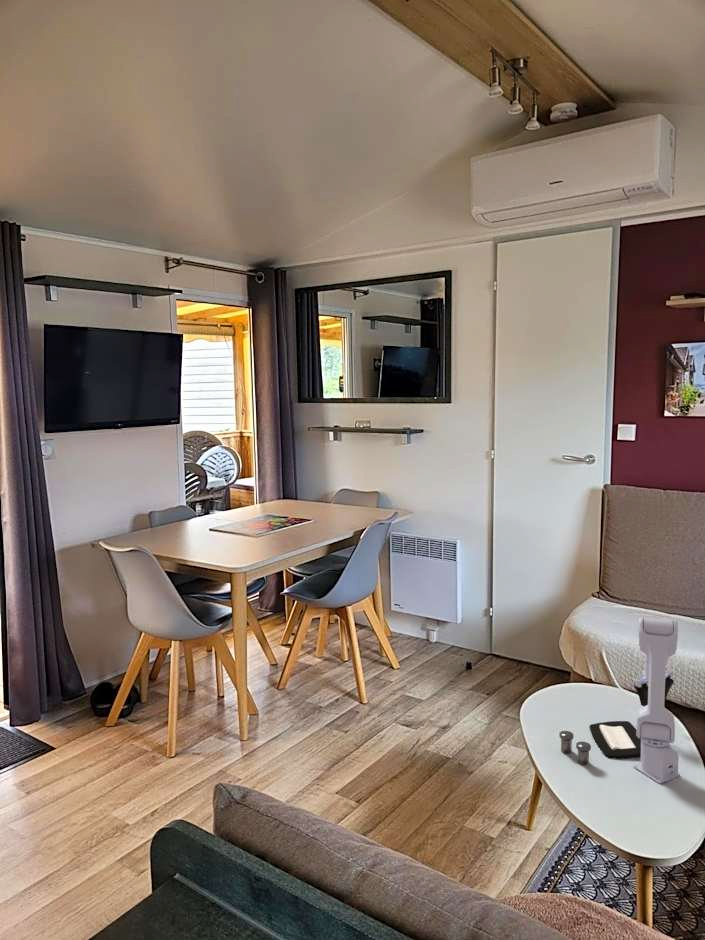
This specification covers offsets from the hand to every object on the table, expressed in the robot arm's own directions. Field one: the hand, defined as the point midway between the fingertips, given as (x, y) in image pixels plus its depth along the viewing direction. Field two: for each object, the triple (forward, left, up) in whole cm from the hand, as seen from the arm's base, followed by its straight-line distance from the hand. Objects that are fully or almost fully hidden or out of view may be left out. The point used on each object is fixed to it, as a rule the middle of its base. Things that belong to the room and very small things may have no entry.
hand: (653, 703), depth 221 cm
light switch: (0, +15, -9) cm, 17 cm away
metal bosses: (0, +32, -8) cm, 33 cm away
